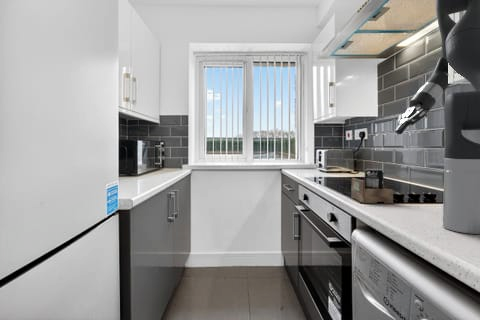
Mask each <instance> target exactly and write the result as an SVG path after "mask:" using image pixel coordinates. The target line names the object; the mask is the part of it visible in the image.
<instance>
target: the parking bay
mask: <svg viewBox="0 0 480 320" xmlns="http://www.w3.org/2000/svg"><path fill="white" fill-rule="evenodd" d="M350 187H351V191H350V192H351V193H350V195H351V199H353V198H354V199H353V200H355V199H356V200H355V201H357V200H358V201H357V202H359V201H360V202H359V203H361V202H362V203H361V204H378V203H377V202H384V203H383V204H394V201H393V200H394V189H392V188H383V189H365V180H363V179H359V178H355V177H351V186H350Z"/></svg>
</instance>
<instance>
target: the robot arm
mask: <svg viewBox="0 0 480 320" xmlns="http://www.w3.org/2000/svg"><path fill="white" fill-rule="evenodd" d="M434 1H435V2H434V4H435V11H436V19H437V24H438V29H439V34H440V39H441V41H440V42H441V56H440V57H439V58H438V61H437V62H436V65H435V68H434V70H433V72H432V73H431V76H430V77H429V78H428V79H427V81H426V82H424V84H423V85H422V86H421V87H420V88H419V89H418V90H417V91H416V92H415V94H414V95H413V96H412V98H411V99H410V100H409V107H408V108H407V110H406V111H405V113H403V114H402V113H399V115H398V117H397V118H398V120H397V123H398V125H397V127H396V128H395V129H394V132H395V134H397V135H402V134H403V133H404V131H405V130H406V129H407V128H409V127H410V126H414V125H415V124H416V123H418V122H419V121H420V120H422V119H423V118H425V117H426V116H427V114H428V113H429V112H430V111H431V110H432V109H433V107H434V106H436V105H435V104H437V102H438V101H439V100H440V98H441V97H442V95H443V93H444V92H445V91H446V90H447V89H448V87H450V84H451V83H450V84H448V76H449V74H448V63H449V65H450V66H451V67H452V68H453V69H454V70H455V71H456V72H457V73H458V74H460V75H461V76H460V77H462V78H464V79H465V80H466V81H467V82H469V83H470V84H471V85H472V87H473V88H474V90H472V91H460V92H459V91H457V92H452V93H448V95H447V96H446V98H445V100H444V105H443V106H444V107H443V118H444V119H443V121H444V161H443V167H444V168H443V198H442V199H443V200H442V201H443V205H442V207H443V208H442V227H443V228H444V229H447V230H448V231H449V230H450V231H453V232H457V233H464V234H473V235H480V143H479V142H475V141H473V140H471V139H468V138H467V137H465V136H464V135H463V132H462V131H480V0H434ZM460 12H461V13H462V12H464V14H463V15H462V16H461V18H460V19H458V21H457V22H456V21H455V20H453V19H452V18H451V16H450V15H453V14H457V13H460Z"/></svg>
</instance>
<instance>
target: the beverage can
mask: <svg viewBox="0 0 480 320" xmlns="http://www.w3.org/2000/svg"><path fill="white" fill-rule="evenodd" d="M384 174H385V173H384V171H383V169H382V168H366V169H365V172H364V181H365V189H384V177H385V175H384Z"/></svg>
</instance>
